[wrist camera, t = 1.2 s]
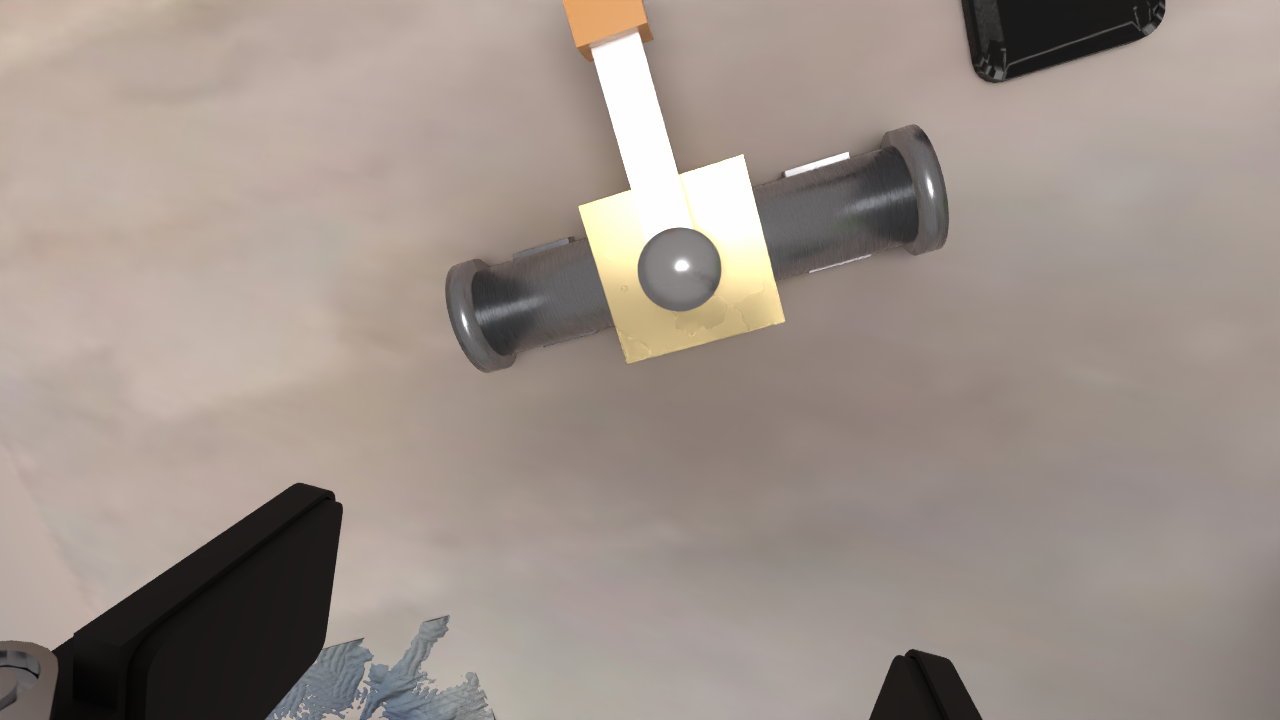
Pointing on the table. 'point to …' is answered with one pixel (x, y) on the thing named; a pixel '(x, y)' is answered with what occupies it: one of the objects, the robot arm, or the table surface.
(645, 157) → the valve lever
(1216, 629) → the table surface
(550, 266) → the valve pipe
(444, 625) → the stuffed giraffe
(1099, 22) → the phone
